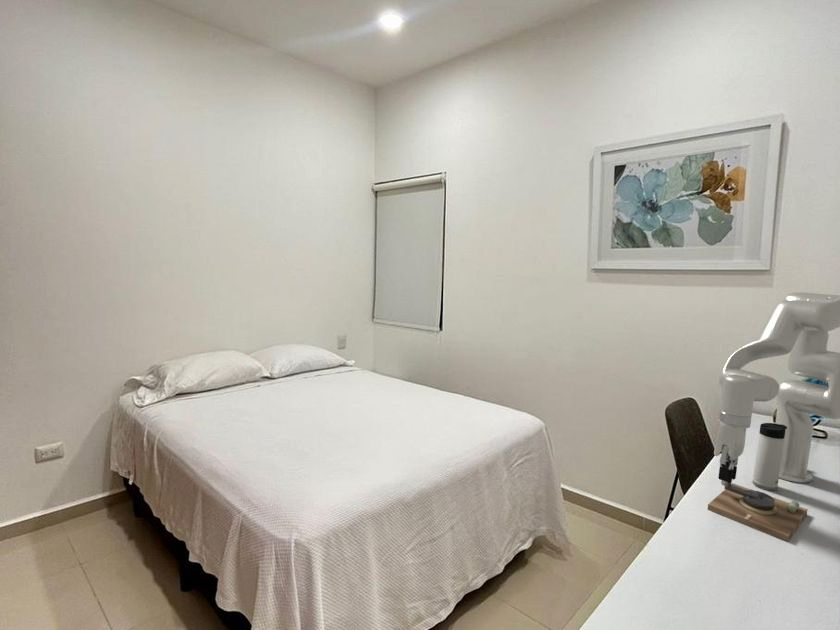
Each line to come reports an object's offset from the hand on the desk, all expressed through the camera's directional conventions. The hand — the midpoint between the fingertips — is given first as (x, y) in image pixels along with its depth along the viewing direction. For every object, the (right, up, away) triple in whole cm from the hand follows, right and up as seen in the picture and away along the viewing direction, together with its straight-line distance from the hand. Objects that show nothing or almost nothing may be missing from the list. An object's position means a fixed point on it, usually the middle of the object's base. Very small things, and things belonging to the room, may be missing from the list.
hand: (726, 478), depth 132 cm
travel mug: (+18, -6, +10) cm, 22 cm away
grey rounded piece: (+3, -4, -3) cm, 6 cm away
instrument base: (+5, -7, -5) cm, 10 cm away
